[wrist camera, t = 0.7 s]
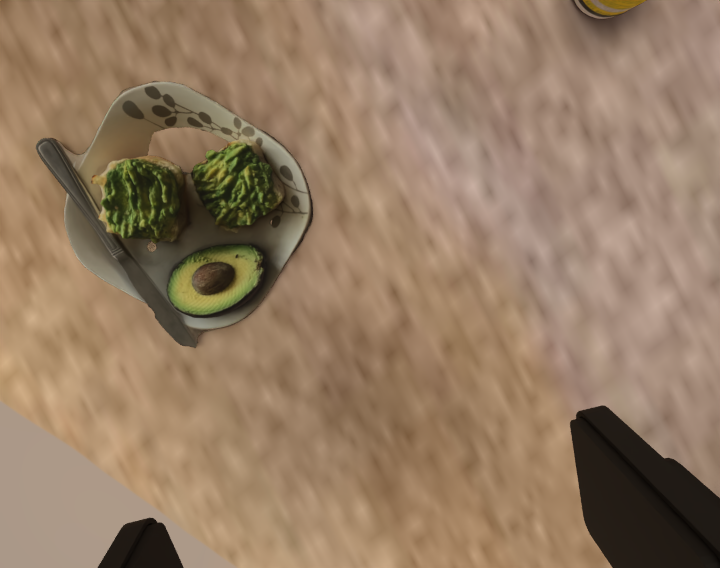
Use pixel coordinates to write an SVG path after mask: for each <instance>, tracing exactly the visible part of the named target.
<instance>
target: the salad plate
mask: <svg viewBox="0 0 720 568" xmlns="http://www.w3.org/2000/svg"><path fill="white" fill-rule="evenodd" d="M175 127H177V128H182V127H190V128H196V129H201V130H203V131H208V132H210V133H213V134H215V135H217V136H218V137H221V138H223V139H225V140H227V141H228V142H230V143H228V144H227V145H226V146H225V147H223V148H222V149H221V150H219V151H218V152H215V151H214V150H210V151H207V153H206V156H205V157H206V158H207V160H205V161H204V162H202V163H199V164H197V165H195V166H194V168H193V171H192V172H191V173H185V172H182V170H181V168H180V167H179V166H176V165H174V164H173V163H172V162H170V161H168V160H166V159H164V158H161V157H157V156H147V155H148V151H149V144H150V141H151V137H152V135H153V133H154V132H156V131H160V130H163V129H167V128H175ZM36 150H37V152H38V154H39V156H40V158H41V159H42V161H43V162H44V163H45V165H46V166H47V167H48V169H49V170H50V171H51V173H52V174H53V175H54V176H55V178H56V179H57V180H58V182H59V183H60V184H61V185H62V187H63V188H64V189H65V190H66V192H67V195H66V204H65V209H64V222H65V228H66V231H67V235H68V238H69V240H70V243H71V246H72V248H73V250H74V253H75V255H76V256H77V258H78V259H79V261H80V262H81V263H82V264H83V265H84V266H85V268H87V269H88V270H90V271H91V272H93V273H94V274H95V275H97V276H98V277H99V278H101V279H102V280H104V281H106V282H107V283H109V284H111V285H113V286H115V287H116V288H118V289H120V290H122V291H124V292H125V293H127V294H129V295H131V296H132V297H134V298H136V299H138V300H140V301H143V302H145V303H147V304H148V306H149V307H150V308H151V309H152V310H153V311H154V313H155V318H156V319H157V320H158V322H159V323H160V324H161V326H162V327H163V328H164V329H165V330H166V331H167V332H168V334H169V335H170V336H171V337H172V338H173V339H174V340H175V341H176V342H178V343H179V344H180V345H182V346H190V347H194V348H196V346H197V343H198V341H197V338H198V336H199V335H200V333H202V332H204V331H207V330H211V329H216V328H222V327H226V326H229V325H232V324H235V323H236V322H238V321H240V320H242V319H244V318H246V317H247V316H248V315H249V314H251V313H252V312H253V311H254V310H255V309H256V308H257V306H258V305H259V304H260V303H261V302H262V300H263V299H264V298H265V296H266V295H267V293H268V292H269V290H270V288H271V287H272V286H273V284H274V282H275V281H276V279H277V277H278V276H279V274H280V272H281V271H282V269H283V267H284V266H285V264H286V263H287V261H288V260H289V258H290V256H291V255H292V254H293V253H294V251H295V250H296V249H297V247H298V246H299V245H300V243H301V242H302V240H303V238H304V235H305V233H306V231H307V230H308V227H309V226H310V224H311V221H312V217H313V206H312V199H311V195H310V191H309V187H308V183H307V180H306V178H305V176H304V174H303V172H302V169H301V167H300V165H299V164H298V162H297V161H296V159H295V158H294V157H293V156H292V155H291V154H290V152H289V151H288V150H287V149H286V148H285V147H284V146H283V145H282V144H281V143H279V142H278V141H277V140H276V139H275V138H273V137H272V136H270V135H269V134H268V133H266V132H264V131H262V130H260V129H258V128H256V127H255V126H253V125H251V124H250V123H248V122H247V121H245V120H243V119H242V118H240V117H239V116H237V115H236V114H234V113H232V112H231V111H229V110H227V109H226V108H224V107H223V106H221V105H220V104H219V103H217V102H216V101H213V100H211V99H210V98H209V97H207V96H205V95H203V94H201V93H199V92H197V91H195V90H193V89H191V88H189V87H187V86H185V85H183V84H177V83H174V82H160V81H153V82H151V83H147V84H144V85H140V86H136V87H131V88H128V89H126V90H124V91H122V92H121V93H120V95H119V96H118V97H117V98H116V99H115V101H114V102H113V103H112V105H111V107H110V109H109V110H108V112H107V114H106V116H105V118H104V120H103V122H102V124H101V125H100V127H99V128H98V132H97V134H96V136H95V138H94V140H93V142H92V144H91V146H90V147H89V148H88V149H87V151H86V152H84V153H83V154H82V155H76V154H74V153H72V152H70V151H69V150H67V149H66V148H65V147H64V146H63V145H62V144H61V143H60V142H59V141H57V140H55V139H53V138H43V139H41V140H40V141H39V142H38V143H37V145H36ZM271 220H272V225H271V224H270V222H271ZM150 241H152V242H153V243H155V244H156V248H157V249H156V250H155V251H154V252H150V251H149V250H148V249H147V244H148V243H149V242H150Z"/></svg>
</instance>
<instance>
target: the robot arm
mask: <svg viewBox="0 0 720 568" xmlns="http://www.w3.org/2000/svg"><path fill="white" fill-rule="evenodd" d="M570 428H571V434H572V441H573V448H574V455H575V462H576V469H577V475H578V482H579V489H580V496H581V503H582V510H583V516H584V521H585V524H586V526H587V529H588V531H589V533H590V535H591V536H592V538H593V539H594V541H595V542H596V544H597V545H598V547H599V548H600V550H601V551H602V553H603V554H604V556H605V557H606V558H607V560H608V561H609V563H610V564H611V566H612V567H613V568H720V498H719V497H718V496H716V495H715V494H714V493H713V492H712V491H711V490H710V489H708V488H707V487H706V486H705V485H704V484H703V483H702V482H700V481H699V480H698V479H697V478H696V477H695V476H694V475H692V474H691V473H690V472H689V471H688V470H687V469H686V468H684V467H683V466H682V465H681V464H680V463H678V462H677V461H675V460H674V459H671V458H665V459H664V458H663V457H662V456H661V455H660V454H659V453H657V452H656V451H655V450H654V449H653V448H652V447H651V446H650V445H649V444H647V443H646V442H645V441H644V440H643V439H642V438H641V437H640V436H639V435H637V434H636V433H635V432H634V431H633V430H632V429H631V428H630V427H629V426H628V425H626V424H625V423H624V422H623V421H622V420H621V419H620V418H619V417H618V416H616V415H615V414H614V413H613V412H612V411H611V410H610V409H609V408H607V407H606V406H598V407H594V408H590V409H586V410H582V411H578V412H577V415H576V419H575V420H572V421H571V422H570ZM98 568H183V565H182V563H181V561H180V559H179V556H178V554H177V552H176V550H175V548H174V545H173V543H172V541H171V539H170V536H169V534H168V532H167V530H166V527H165V526H164V524H163V523H157V521H156V520H155V519H154V518H147V519H143V520H139V521H135V522H131V523H127V524H125V525H124V526H123V527H122V528H121V530H120V531H119V533H118V535H117V536H116V538H115V540H114V541H113V543H112V545H111V546H110V548H109V550H108V551H107V553H106V555H105V556H104V558H103V560H102V561H101V563H100V565H99V566H98Z"/></svg>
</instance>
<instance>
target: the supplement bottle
mask: <svg viewBox="0 0 720 568" xmlns="http://www.w3.org/2000/svg"><path fill="white" fill-rule="evenodd" d="M574 1H575V3H576V5H577V6H578V7H579V8H580V10H581V11H582V12H584V13H585V14H587V15H588V16H591V17H594V18H598V19H605V18H611V17H615V16H617V15H620V14H622V13H624V12H626V11H628V10H630V9H632V8H633V7H635V6H637V5H639V4H641V3H643V2H644V1H646V0H574Z"/></svg>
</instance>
